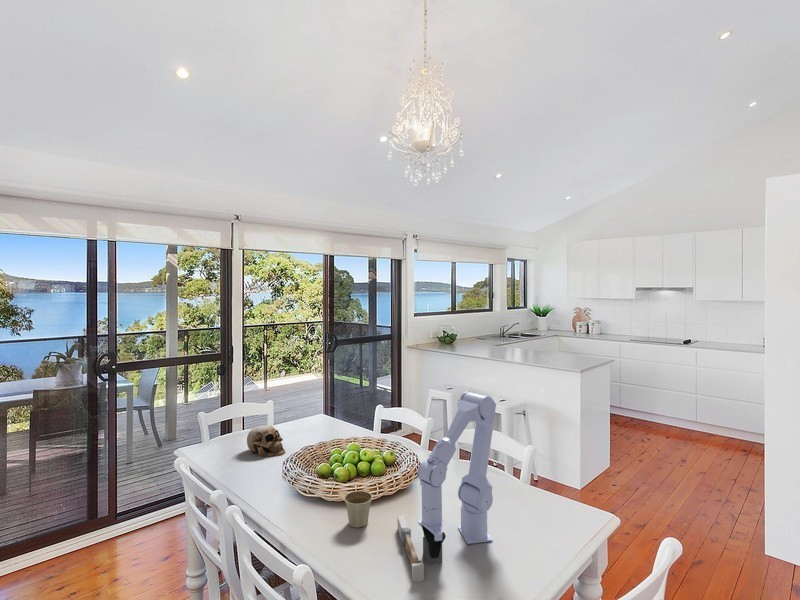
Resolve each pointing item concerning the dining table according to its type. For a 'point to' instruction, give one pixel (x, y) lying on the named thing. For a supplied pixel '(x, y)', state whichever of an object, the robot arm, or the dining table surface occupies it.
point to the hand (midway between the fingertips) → (432, 551)
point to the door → (411, 550)
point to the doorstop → (427, 553)
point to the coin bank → (265, 441)
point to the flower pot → (358, 507)
